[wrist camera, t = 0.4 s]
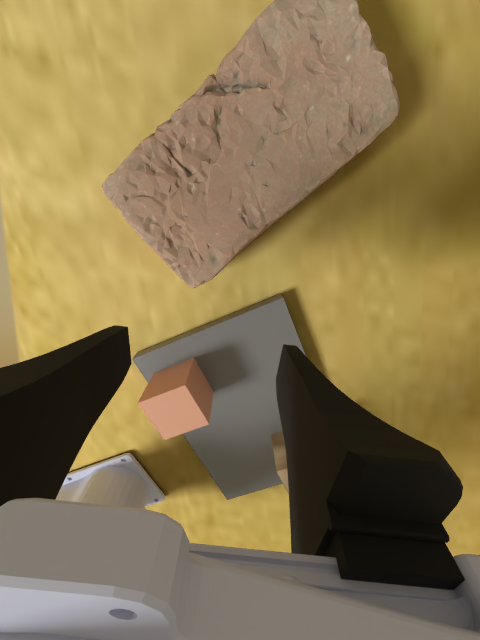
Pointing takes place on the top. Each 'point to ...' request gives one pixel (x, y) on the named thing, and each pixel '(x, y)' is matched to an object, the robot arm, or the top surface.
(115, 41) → the top surface
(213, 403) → the plate
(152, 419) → the terracotta block
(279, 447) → the maple block
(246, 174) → the brick
